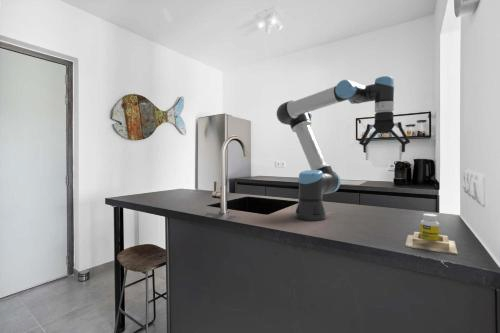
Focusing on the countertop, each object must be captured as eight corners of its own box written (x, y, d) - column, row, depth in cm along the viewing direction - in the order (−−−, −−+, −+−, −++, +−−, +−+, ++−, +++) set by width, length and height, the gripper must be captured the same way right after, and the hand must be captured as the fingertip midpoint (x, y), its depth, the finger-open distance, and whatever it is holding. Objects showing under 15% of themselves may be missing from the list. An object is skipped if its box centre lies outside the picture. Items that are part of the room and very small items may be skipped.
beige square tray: (405, 246, 90) (405, 239, 90) (408, 236, 102) (408, 229, 102) (457, 254, 83) (457, 246, 82) (454, 242, 94) (454, 235, 94)
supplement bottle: (420, 243, 92) (420, 215, 91) (419, 239, 96) (420, 212, 96) (439, 246, 89) (440, 217, 88) (438, 241, 93) (438, 214, 93)
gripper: (352, 114, 123) (352, 160, 124) (416, 108, 109) (415, 160, 110) (356, 116, 130) (356, 159, 130) (417, 110, 116) (416, 159, 116)
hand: (383, 160), depth 120 cm, fingers open, 13 cm apart
